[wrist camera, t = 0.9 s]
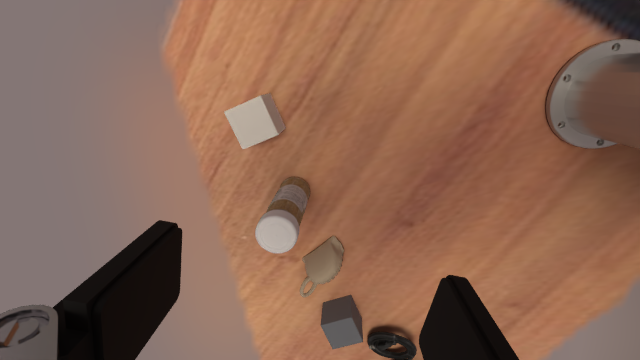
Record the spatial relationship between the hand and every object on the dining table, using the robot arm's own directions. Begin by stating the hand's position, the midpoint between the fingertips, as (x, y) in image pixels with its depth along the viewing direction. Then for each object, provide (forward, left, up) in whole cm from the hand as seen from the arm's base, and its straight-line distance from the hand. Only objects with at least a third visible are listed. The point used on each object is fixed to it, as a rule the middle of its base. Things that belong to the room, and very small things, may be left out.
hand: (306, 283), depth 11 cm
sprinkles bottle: (+2, +11, -33) cm, 34 cm away
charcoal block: (-13, +28, -32) cm, 45 cm away
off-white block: (+10, +3, -32) cm, 34 cm away
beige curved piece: (-6, +19, -33) cm, 38 cm away
